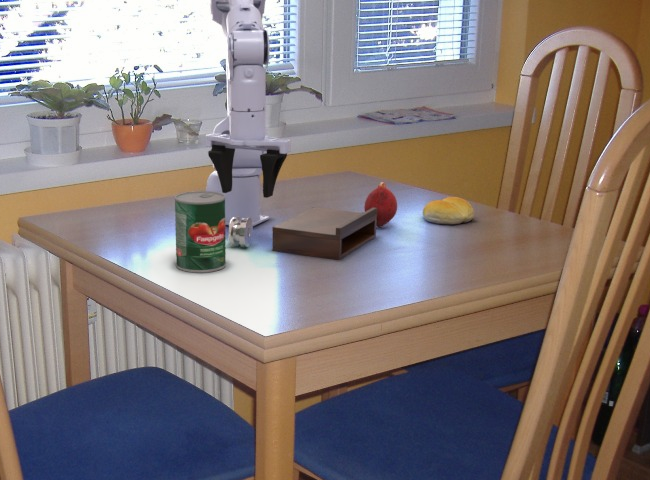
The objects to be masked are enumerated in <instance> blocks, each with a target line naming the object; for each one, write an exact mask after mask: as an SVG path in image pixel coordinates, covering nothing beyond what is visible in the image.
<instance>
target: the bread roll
mask: <svg viewBox="0 0 650 480" xmlns="http://www.w3.org/2000/svg"><path fill="white" fill-rule="evenodd" d="M422 216H423V218H424V220H426V221H427V222H429V223H431V224H437V225H460V224H461V223H468V222H470V221H471V220H473V219H474V217H475V211H474V209H473V206H472V205H471V204H470V202H469V201H468V200H466V199H464V198H461V197H459V196H447V197H445V198H444V199H434V200H431V201H428V203H426V204H425V205H424V207H423V209H422Z"/></svg>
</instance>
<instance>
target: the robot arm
mask: <svg viewBox="0 0 650 480" xmlns="http://www.w3.org/2000/svg"><path fill="white" fill-rule="evenodd" d="M209 6H210V15H211V20H212V21H213V22H215V23H217V24H218V25H220V26H221V28H222V32H223V36H224V40H225V69H226V70H225V71H226V103H227V104H226V105H227V107H226V108H227V116H226V117H225V118H224V119H223V120H221V121H220V122H219V123H217V124H216V125H215V126H214V129H213V132H212V133H209V134H205V148H210V150H208V151H207V155H208V157H209V159H210V161H211V163H212V167H213V169H214V171H213V172H211V173H210V174H209V176H208V178H207V181H206V185H205V186H206V187H205V191H212V192H218V193H222V194H224V195H225V196H226V198H225V223H226V224H225V226H229V224H230V221H231V219H232V218H233V217H235V216H239V217H240V219H241V220H242V218H243V217H250V218H251V219H252V224H253V227H255V226H257V225H259V224H261V223H264V222H265V221H268V220H269V219H270V216H268V215H261V176H262V195H263V198H265V199H267V198H270V197H272V196H273V195H274V191H275V186H276V184H277V183H276V182H277V179H278V176H279V174H280V171H281V168H282V166H283V164H284V163H285V161H286V159H287V157H288V153H291V143H292V140H291V139H284V138H278V137H273V136H268V129H267V128H266V97H267V96H266V95H267V94H266V89H267V88H266V79H267V78H266V76H267V73H266V72H267V71H266V69H268V67H269V63H270V51H271V50H270V49H271V48H270V36H269V32H268V29H267V28H264V27H263V26H264V25H263V15H264V14H265V7H266V0H209ZM264 66H265V68H264Z"/></svg>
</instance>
